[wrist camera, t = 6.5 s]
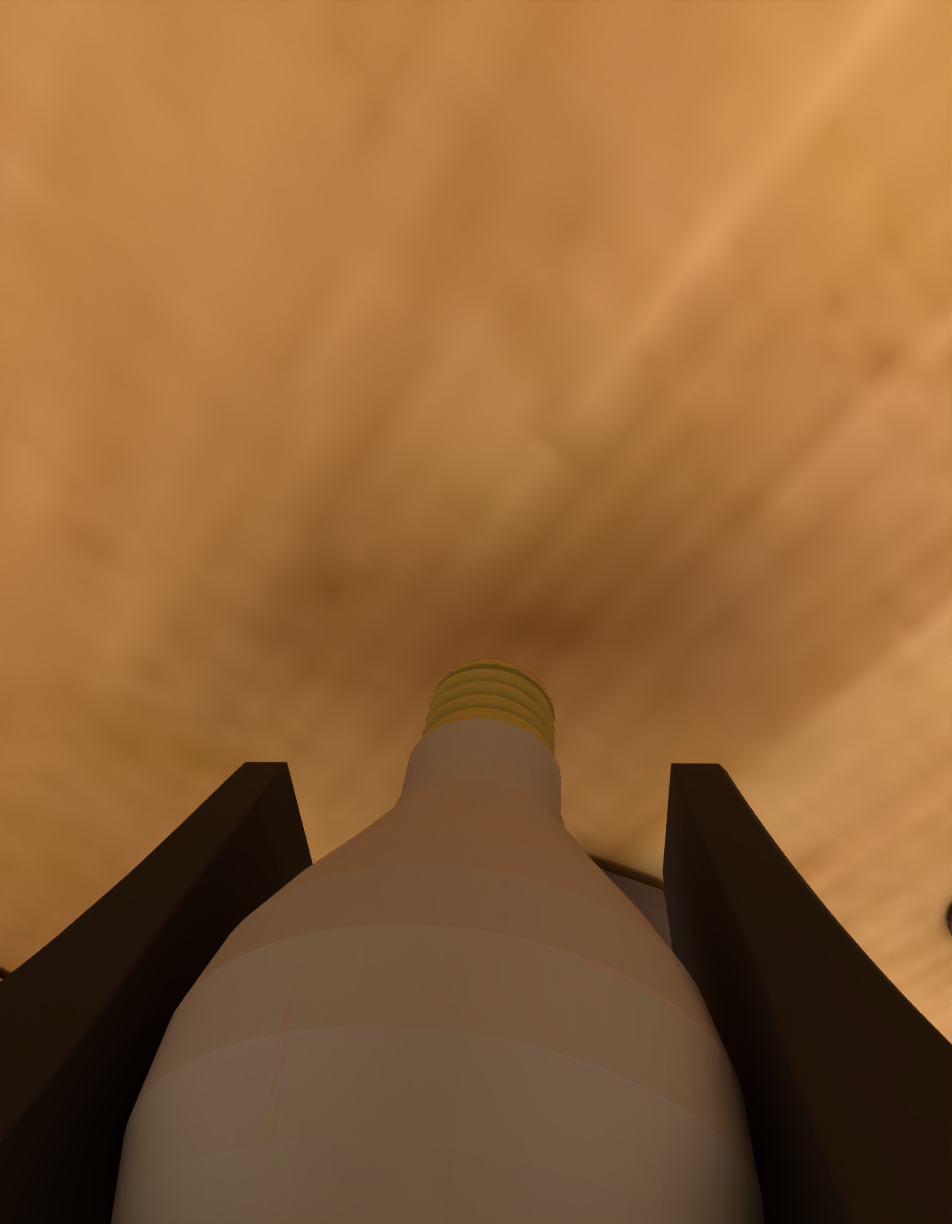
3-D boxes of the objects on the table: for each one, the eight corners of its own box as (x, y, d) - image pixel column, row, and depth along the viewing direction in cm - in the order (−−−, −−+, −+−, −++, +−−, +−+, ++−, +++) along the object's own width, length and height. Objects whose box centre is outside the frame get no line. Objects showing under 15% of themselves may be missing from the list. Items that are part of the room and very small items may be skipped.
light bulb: (471, 477, 11) (205, 1474, 3) (720, 680, 13) (1095, 1766, 4) (282, 694, 14) (-190, 1595, 5) (509, 845, 15) (455, 1751, 6)
